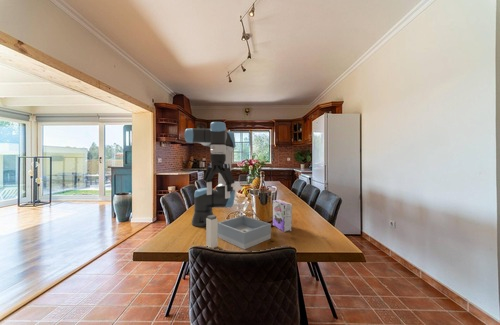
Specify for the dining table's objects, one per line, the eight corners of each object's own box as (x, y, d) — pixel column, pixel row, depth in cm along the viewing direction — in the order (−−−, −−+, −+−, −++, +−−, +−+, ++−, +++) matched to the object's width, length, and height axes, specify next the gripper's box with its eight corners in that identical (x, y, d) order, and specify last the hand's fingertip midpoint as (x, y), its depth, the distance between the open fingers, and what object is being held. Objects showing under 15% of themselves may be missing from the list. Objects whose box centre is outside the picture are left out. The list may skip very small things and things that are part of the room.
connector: (206, 246, 107) (206, 216, 106) (212, 243, 110) (212, 214, 109) (210, 248, 104) (210, 217, 103) (217, 246, 107) (217, 216, 106)
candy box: (272, 225, 140) (272, 200, 139) (280, 224, 142) (280, 199, 141) (283, 232, 127) (283, 204, 126) (292, 230, 129) (292, 203, 129)
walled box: (217, 237, 119) (217, 222, 119) (243, 228, 133) (243, 215, 133) (244, 249, 103) (244, 233, 103) (270, 238, 117) (271, 223, 117)
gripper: (196, 153, 111) (196, 194, 112) (230, 153, 95) (230, 201, 96) (207, 153, 117) (207, 192, 118) (241, 153, 101) (241, 198, 102)
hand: (218, 196), depth 107 cm, fingers open, 13 cm apart
